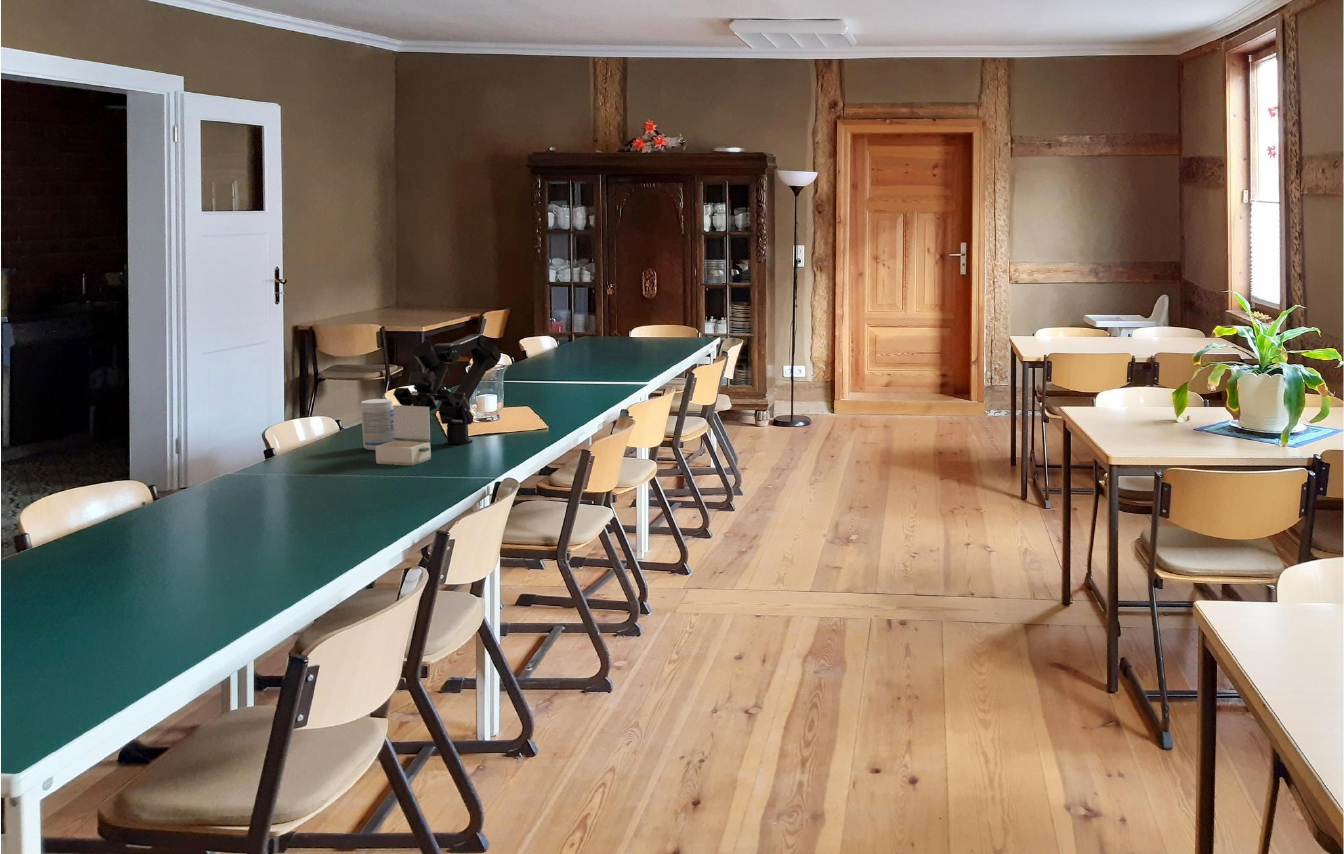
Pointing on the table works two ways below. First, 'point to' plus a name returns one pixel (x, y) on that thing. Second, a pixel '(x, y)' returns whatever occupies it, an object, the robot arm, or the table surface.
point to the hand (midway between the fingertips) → (414, 420)
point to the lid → (411, 423)
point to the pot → (403, 453)
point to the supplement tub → (377, 422)
